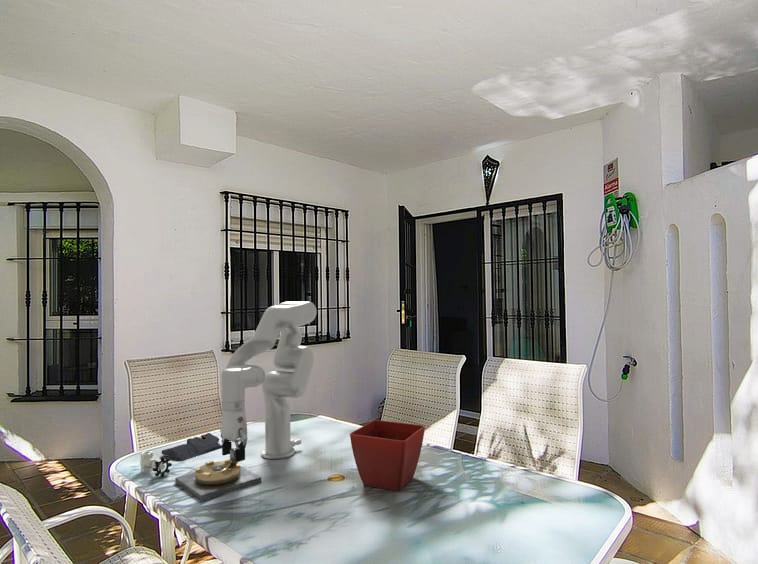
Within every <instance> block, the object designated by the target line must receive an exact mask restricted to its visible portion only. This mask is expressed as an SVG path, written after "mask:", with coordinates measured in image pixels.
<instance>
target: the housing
mask: <svg viewBox="0 0 758 564" xmlns="http://www.w3.org/2000/svg"><path fill="white" fill-rule="evenodd" d="M240 471H241V474H240V476H239V477H238V478H237V479H235V480H233V481H230V482H227V483H223V484H217V485H204V484H200V483H197V482H196V480H195V472H192V473H188V474H185V475H181V476H177V477H175V478H174V479H175V480H174V481H175V482H174V483H175V484H176V485H178V486H179V487H181V488H182V489H184V490H185V491H186V492H188V493H189V494H190V495H192V496H193V497H195V498H197V499H198V500H199V501H200V502H203V501H207V500H210V499H212V498H216V497H219V496H222V495H225V494H228V493H229V494H230V493H232V492H234V491H237V490H241V489H244V488H247V487H251V486H253V485H257V484H260V483H262V476H261V475H258V474H257V473H255V472H253V471H251V470H248V469H247V468H244V467H243V466H241V465H240Z"/></svg>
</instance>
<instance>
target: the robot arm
mask: <svg viewBox="0 0 758 564" xmlns="http://www.w3.org/2000/svg"><path fill="white" fill-rule="evenodd" d="M316 316H317V307H316V306H315V304H314V303H313V302H311V301H284V302H280V303H279V304H278V305H271V306H269V307H268V308H266V309H265V311H264V312H263V314H262V317H261V318H260V320H259V323H258V325H257V327H256V330H255V331H254V333H253V335H252V336H251V338H249V339H248V340H247V341H245V342H244V343H243V344H241V345H240V346H239V347H238V348H237V349H236V350H235V351H234V352H233V353H232V355H231V357H230V359H229V361H228V363H227V365H226V368H225V369H223V370H222V371H221V375H220V376H221V379H220V381H221V383H220V384H221V387H220V388H221V389H220V390H221V394H220V395H221V397H220V399H221V401H220V402H221V404H220V405H221V410H220V411H221V423H220V424H221V425H220V428H219V431H220V438H221V445H222V448H221V455H222V456H227V455H230V449H232V448H233V447H232V445H233V444H232V443H234V445H235V448H237V449H235V461H236V462H238V463H240V462H242V461H245V460H246V448H247V442H248V440H249V439H248V423H247V413H246V410H245V409H246V408H245V407H246V404H245V401H246V399H245V398H246V395H245V394H246V393H245V392H246V391H245V390H246V388H255V387H258V386H260V385H261V388H262V394H263V399H264V431H265V432H264V435H265V436H264V437H265V445H264V446H265V448H264V449H262V450H261V452H260V453H261V454H260V455H261V457H262V458H264V459H268V460H280V459H286V458H289V457H292V456H293V455H294V454H295V453H296V452H295V451H296V450H295V448H294V447H295V446H300V445H301V444H302V440H301V439H300V438H298V439H296V440H295V439H291V435H292V434H291V432H292V431H291V404H290V401H289V400H288V398H294V399H295V398H296V399H297V398H301V397H303V396H304V395H305V393H306V390H307V388H308V385H309V381H310V378H311V374H312V370H313V367H314V361H315V360H314V359H315V356H314V351H313V350H312V349H311V348H310V347H309V346H307V345H301V343H302V339H303V334H302V332H301V331H302V330H300V328H299V327H302V326H305V325H308V324H309V323H312V322H313V321H314V320H316ZM278 337H280V338H279V340H278ZM277 340H278V342H277ZM276 342H277V343H278V344H277V347H276V351H275V354H274V356H273V365H274V367H276V368H278V369H280V370H273V371H268V372H267V373H265V369H264V368H263V367H261V366H259V365H255V364H247V362H249V360H251V359H252V358H254V357H255V356H258V355H260V354H264V353H265V352H267V351H269V350H272V349H273V348H274V347H275V345H276Z"/></svg>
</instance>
